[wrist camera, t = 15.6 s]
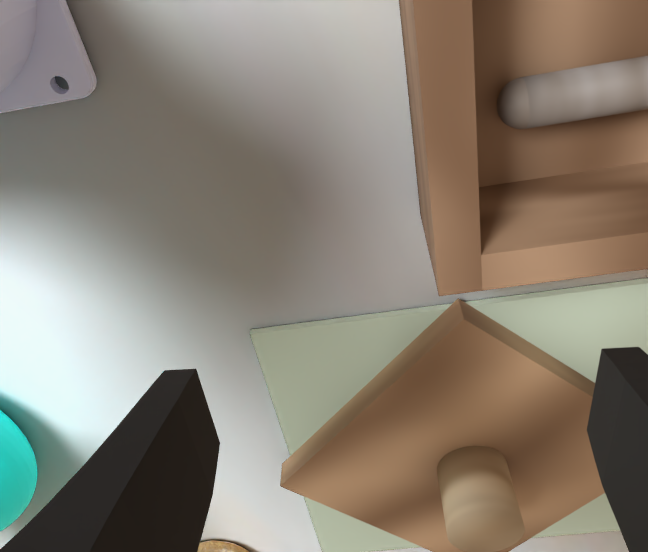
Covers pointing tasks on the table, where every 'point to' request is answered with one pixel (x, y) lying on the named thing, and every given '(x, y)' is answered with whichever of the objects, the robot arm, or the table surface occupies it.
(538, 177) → the toolbox
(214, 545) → the sprinkles bottle
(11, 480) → the donuts
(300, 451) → the lid
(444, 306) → the mat
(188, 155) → the table surface
